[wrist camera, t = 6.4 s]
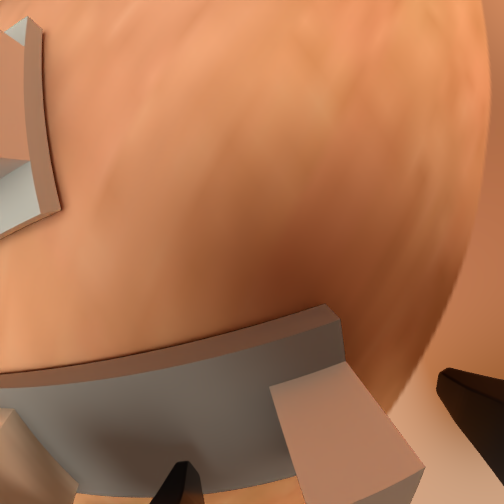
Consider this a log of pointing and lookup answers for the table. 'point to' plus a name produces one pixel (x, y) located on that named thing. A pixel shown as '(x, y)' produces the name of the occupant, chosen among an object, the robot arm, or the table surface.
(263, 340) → the grey piece
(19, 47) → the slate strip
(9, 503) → the cream block
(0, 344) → the table surface
